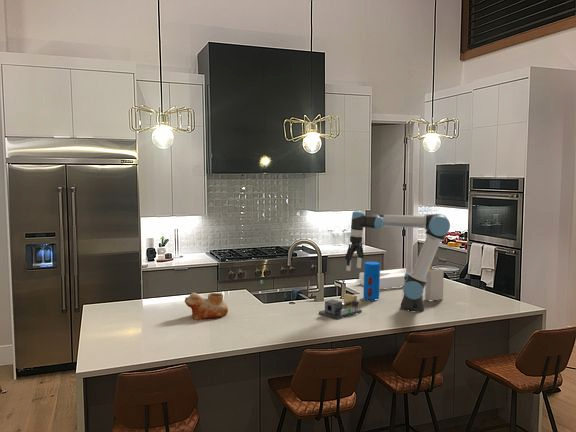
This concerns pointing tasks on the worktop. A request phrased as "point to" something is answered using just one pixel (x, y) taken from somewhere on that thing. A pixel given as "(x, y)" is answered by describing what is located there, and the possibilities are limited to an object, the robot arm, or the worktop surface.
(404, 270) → the bread box
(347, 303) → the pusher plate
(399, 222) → the robot arm
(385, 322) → the worktop surface
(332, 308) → the circuit board
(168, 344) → the worktop surface
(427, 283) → the beige tall box
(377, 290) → the thermos
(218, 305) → the ceramic vessel
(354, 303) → the pointer
